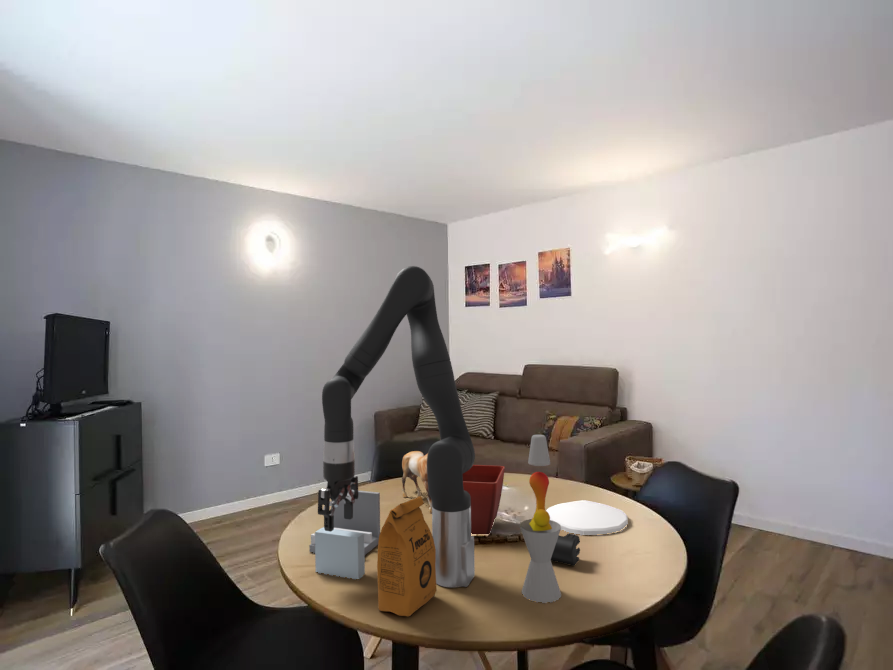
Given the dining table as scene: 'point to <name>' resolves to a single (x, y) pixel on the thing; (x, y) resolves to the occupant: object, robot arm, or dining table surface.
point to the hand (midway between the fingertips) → (339, 524)
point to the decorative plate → (588, 517)
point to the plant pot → (483, 495)
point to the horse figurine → (416, 472)
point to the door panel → (340, 553)
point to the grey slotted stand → (359, 519)
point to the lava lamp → (540, 532)
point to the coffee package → (406, 560)
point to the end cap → (566, 549)
